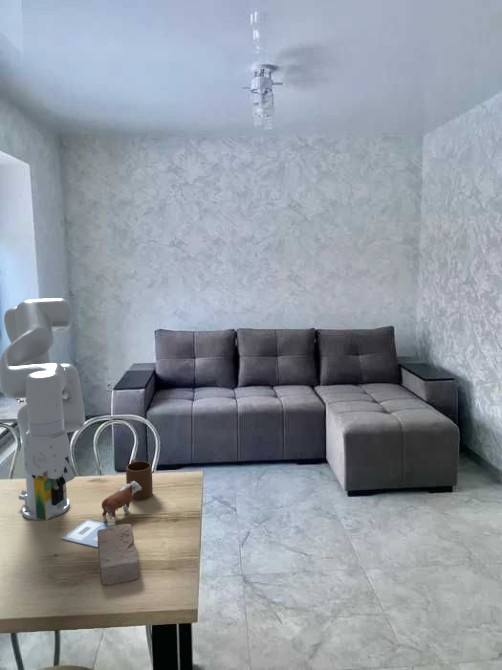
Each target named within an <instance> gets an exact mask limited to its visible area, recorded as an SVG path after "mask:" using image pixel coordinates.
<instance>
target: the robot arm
mask: <svg viewBox="0 0 502 670" xmlns="http://www.w3.org/2000/svg"><path fill="white" fill-rule="evenodd" d="M3 322H4V328H5V331H6V334H7V337H8V340H9V342H10V343H9V345H8V346H7V347H6V349H5V350H4V351H3V353H2V354H1V357H0V388H1V392H2V394H3V395H4V396H5V397H6V398H8V399H13V400H16V399H24V398H25V399H26V400H25V401H26V402H25V403H26V404H24V405H23V406H21V407H20V409H19V410H18V412H17V415H16V417H17V418H16V420H17V424H18V425H17V426H18V429H19V434H20V439H21V442H22V450H23V452H22V453H23V465H24V473H25V486H26V488H23V489H22V490H21V494H19V495H18V500H20V501H24V505H23V507H22V509H21V512H22V516H24V517H25V518H26V519H28V520H35V521H37V520H38V521H39V520H42V519H38V518H37V515H36V503H35V491H34V478H36V477H38V476H39V477H43V473H44V472H45V473H46V478H49V479H52V483H53V489H52V490H51V496H52V505H54V506H55V505H57V504H58V503H60V502H61V501H63V500H64V493H63V485H65V483H66V484H67V483H69V482H71V481H72V480H73V479H75V477H76V476H75V474H74V471H73V470H72V469H73V467H72V466H73V465H72V464H73V461H72V452H71V446H70V445H71V444H70V440H69V436H68V433H72V432H77V431H80V430H81V429H83V427H84V426H85V422H86V414H85V413H86V412H85V406H84V399H83V392H82V386H81V385H82V384H81V380H80V375H79V371H78V369H77V368H76V366H75V365H74V364H71V363H57V362H51V360H50V351H49V350H51V349H52V347H53V345H54V343H55V342H54V340H55V338H54V334H58V333H66V332H67V331H68V330H69V329H71V327H72V325H73V322H74V313H73V308H72V305H71V304H70V303H69V301H68V300H67V299H64V298H60V297H59V298H37V299H36V298H34V299H26V300H24V301H22V302H20V303H18V305H17V306H14V307H11V308H9V309H7V310H6V311H5V313H4V315H3ZM64 474H65V476H64ZM58 479H59V481H58ZM70 504H71V503H70V499H69V498H68V497H67V506H65V507H64V508H62V509H61V510H60V511H58V512H57V513H55V514H54V515H53V516H51V517H50V518H49V519H53V518H55V517H58V516H60V515H62V514H64V513H65V512H66V511H67V510H68V509H69V508H70Z"/></svg>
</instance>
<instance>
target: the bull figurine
mask: <svg viewBox="0 0 502 670" xmlns="http://www.w3.org/2000/svg"><path fill="white" fill-rule="evenodd" d="M141 489H142V487H141V486H140V485H139V484H138V483H137V482H135V481H133V482H132V481H130V484H127V483H126V484H125V485H124V486H123V487H121V488H120V489H117V491H116V492H114V493H112V494H111V495H109V496H107V497H105V498H104V499H103V501H102V502H101V508H102V510H103V511H102V513H101V516H102V520H103V522H104V523H106V522H108V519H107V514H108V517H109V520H111V521H112V519H113V520H114V521H116V522H119V521H120V518H118V516H117V515H116V512H117V511H118V510H119V509H123V510H125V513H126V514H130V513H131V511H130V510H129V508H130V504H131V502H132V500H131V499H132V496H133V493H136V491H138V490H139V491H140V490H141Z"/></svg>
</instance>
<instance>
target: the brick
mask: <svg viewBox="0 0 502 670" xmlns="http://www.w3.org/2000/svg"><path fill="white" fill-rule="evenodd" d="M97 536H98V548H97V549H98V561H99V568H100V578H101V583H102V584H103V585H105V586H107V585H115V584H118V583H124V582H131V581H133V580H136V579H137V578H138V577H139V571H140V570H139V566H140V565H139V557H138V556H139V555H138V550H137V548H136V544H135V538H134V531H133V527H132V524H130V523H125V524H118V525H115V526H112V527H109V528H105V529H101V530H98V532H97Z"/></svg>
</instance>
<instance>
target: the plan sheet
mask: <svg viewBox="0 0 502 670" xmlns="http://www.w3.org/2000/svg"><path fill="white" fill-rule="evenodd" d="M112 526H116V524H115V525H114V524H111V523H110V524H109V523H106V522H100V521H96V520H93V519H86V520H85V521H84V522H81V524H78V526H77V527H76V528H74V529H73V530H71V531H70V532H69V533H67V534H66V535H65V536H64V537H63V538H62V541H63V540H64V541H67V542H71V543H75V544H80V545H83V546H88V547H91V548H96V549H98V536H97V532H98V530H101V529H105V528H109V527H112Z"/></svg>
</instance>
